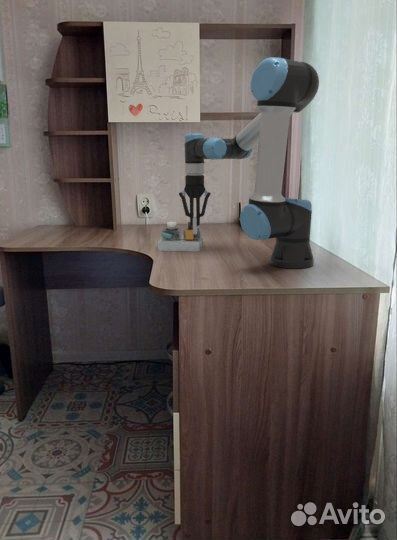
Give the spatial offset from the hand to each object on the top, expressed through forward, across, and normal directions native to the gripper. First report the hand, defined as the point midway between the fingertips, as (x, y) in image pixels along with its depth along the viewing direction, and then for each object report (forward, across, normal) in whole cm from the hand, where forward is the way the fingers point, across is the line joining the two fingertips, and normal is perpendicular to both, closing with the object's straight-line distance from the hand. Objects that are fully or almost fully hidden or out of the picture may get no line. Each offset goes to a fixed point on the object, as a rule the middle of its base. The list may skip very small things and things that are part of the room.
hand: (195, 233), depth 174 cm
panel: (+7, +6, -3) cm, 10 cm away
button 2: (0, +2, -7) cm, 7 cm away
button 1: (0, +11, -7) cm, 13 cm away
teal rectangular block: (+1, +12, 0) cm, 12 cm away
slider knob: (+2, +2, 0) cm, 3 cm away
